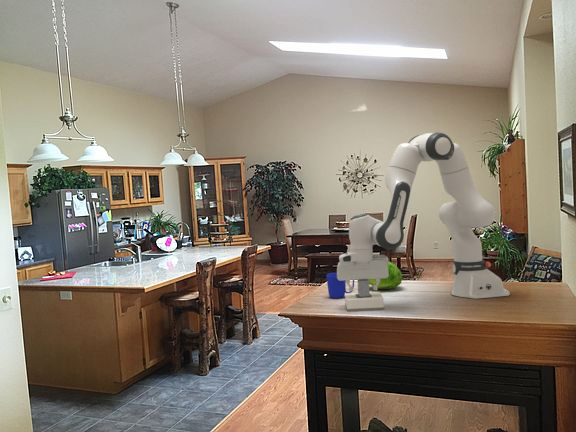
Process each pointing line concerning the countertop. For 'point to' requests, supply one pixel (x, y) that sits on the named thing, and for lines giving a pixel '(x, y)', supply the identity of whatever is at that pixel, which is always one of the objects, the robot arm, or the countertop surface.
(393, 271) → the lettuce
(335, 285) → the mug
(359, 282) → the grey brushed prism
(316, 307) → the countertop surface
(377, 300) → the well block
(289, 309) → the countertop surface
